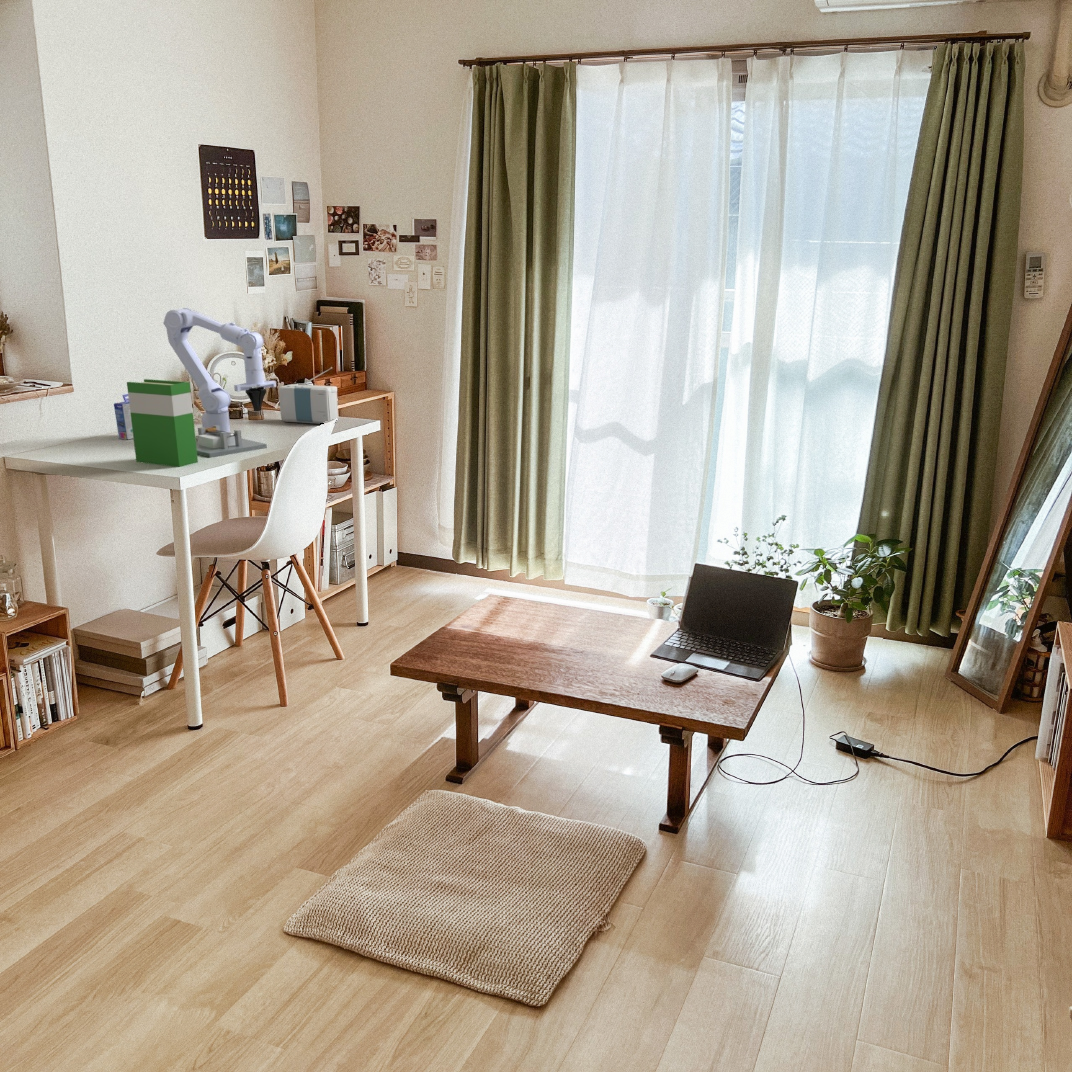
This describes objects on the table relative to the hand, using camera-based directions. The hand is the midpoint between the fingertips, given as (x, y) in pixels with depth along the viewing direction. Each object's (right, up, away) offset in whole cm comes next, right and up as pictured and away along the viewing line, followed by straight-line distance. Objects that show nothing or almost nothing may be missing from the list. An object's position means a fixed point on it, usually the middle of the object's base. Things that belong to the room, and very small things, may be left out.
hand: (257, 410), depth 342 cm
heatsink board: (-9, -13, -12) cm, 20 cm away
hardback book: (-19, -19, -32) cm, 42 cm away
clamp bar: (-9, -9, -13) cm, 18 cm away
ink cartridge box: (-44, -8, +8) cm, 45 cm away
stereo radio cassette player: (+10, 0, +33) cm, 34 cm away
